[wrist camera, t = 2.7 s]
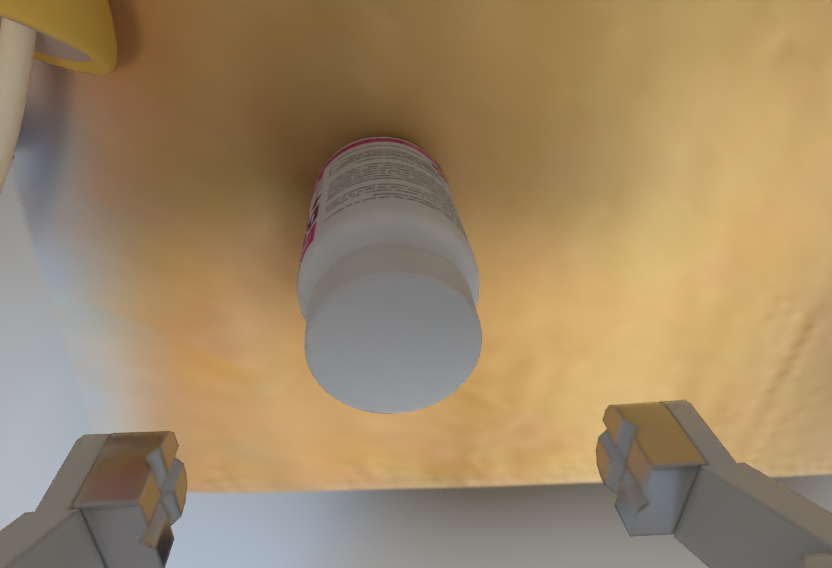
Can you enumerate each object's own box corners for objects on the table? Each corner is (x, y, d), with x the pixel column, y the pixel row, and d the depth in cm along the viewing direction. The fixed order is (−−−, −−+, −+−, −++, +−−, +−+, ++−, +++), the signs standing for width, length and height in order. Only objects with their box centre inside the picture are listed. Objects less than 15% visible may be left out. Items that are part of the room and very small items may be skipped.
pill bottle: (291, 156, 18) (249, 291, 11) (429, 115, 18) (478, 226, 11) (338, 274, 21) (329, 447, 14) (461, 240, 21) (517, 397, 13)
